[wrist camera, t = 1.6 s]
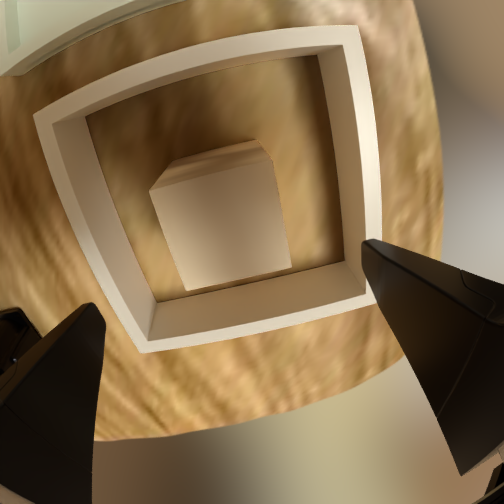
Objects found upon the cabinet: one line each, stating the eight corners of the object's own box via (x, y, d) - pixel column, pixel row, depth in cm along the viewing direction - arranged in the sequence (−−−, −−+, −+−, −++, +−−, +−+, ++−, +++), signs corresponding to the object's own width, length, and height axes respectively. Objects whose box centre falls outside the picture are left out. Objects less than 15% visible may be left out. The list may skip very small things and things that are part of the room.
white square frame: (150, 315, 22) (140, 353, 18) (68, 108, 14) (32, 114, 10) (357, 269, 21) (379, 301, 18) (329, 38, 13) (357, 25, 10)
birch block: (195, 235, 19) (186, 291, 14) (172, 160, 16) (148, 191, 11) (272, 216, 19) (292, 267, 14) (256, 139, 16) (271, 159, 11)
